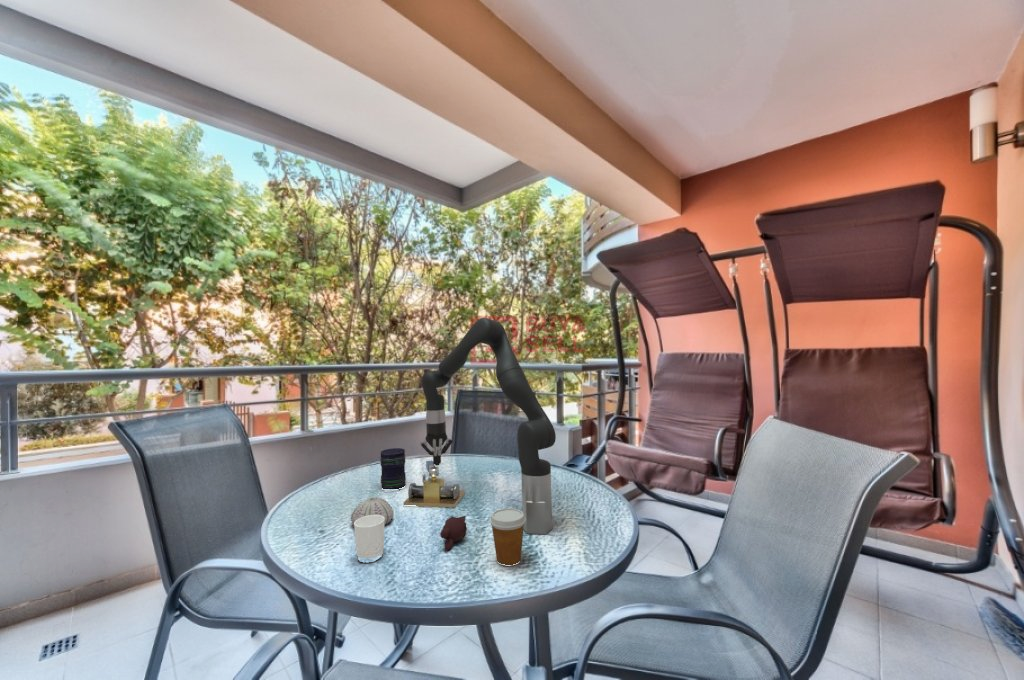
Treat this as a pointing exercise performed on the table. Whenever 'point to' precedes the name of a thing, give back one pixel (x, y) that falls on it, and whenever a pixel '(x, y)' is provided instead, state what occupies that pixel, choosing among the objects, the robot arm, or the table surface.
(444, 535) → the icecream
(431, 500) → the valve
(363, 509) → the sea urchin shell
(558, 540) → the table surface
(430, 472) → the lever
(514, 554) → the disposable coffee cup
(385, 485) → the storage jar
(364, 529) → the white cup
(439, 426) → the robot arm
